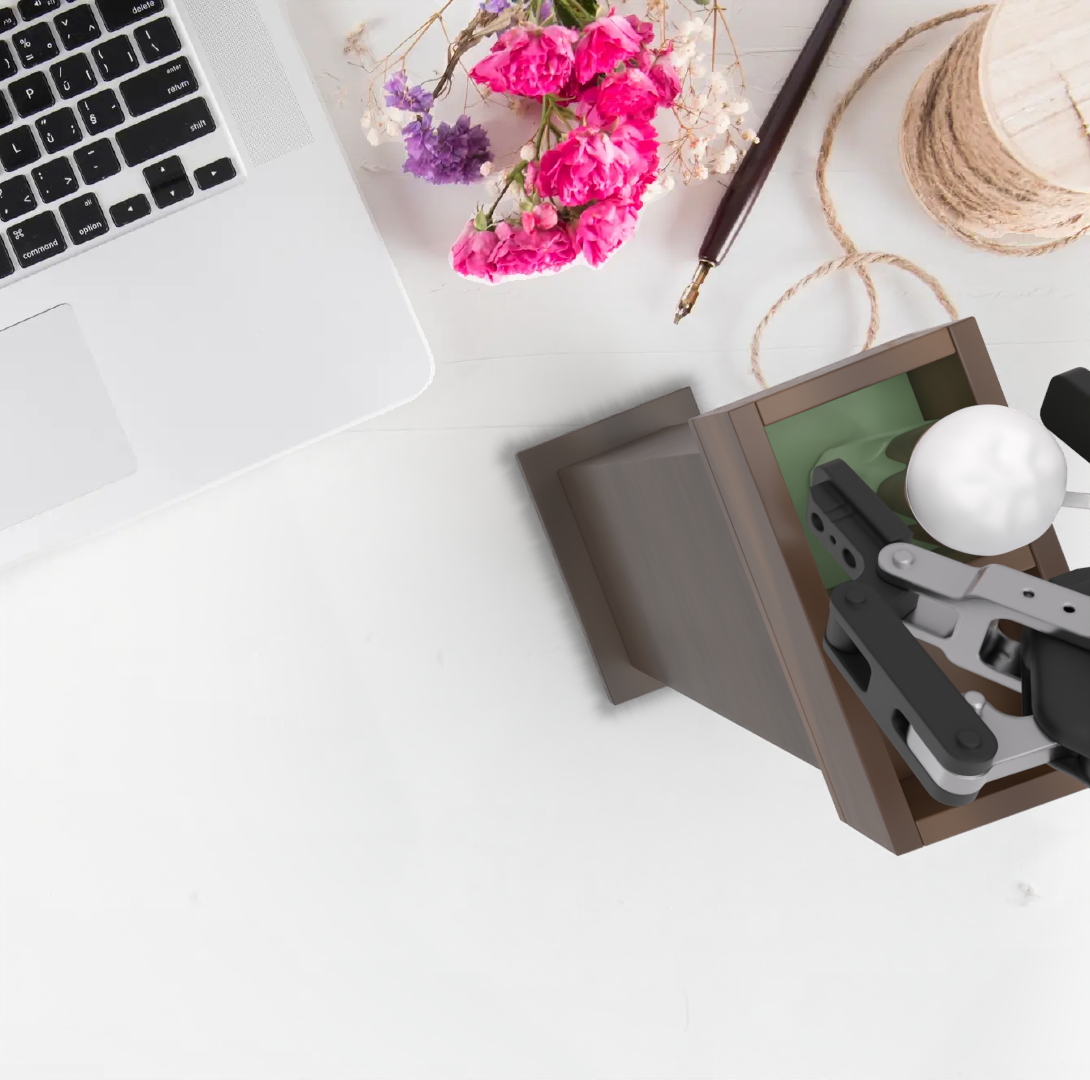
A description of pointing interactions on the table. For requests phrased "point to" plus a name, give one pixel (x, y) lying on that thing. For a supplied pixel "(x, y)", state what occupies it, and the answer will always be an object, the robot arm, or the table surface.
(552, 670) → the table surface
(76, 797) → the table surface
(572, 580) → the stand
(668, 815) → the table surface
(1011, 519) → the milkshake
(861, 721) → the box
